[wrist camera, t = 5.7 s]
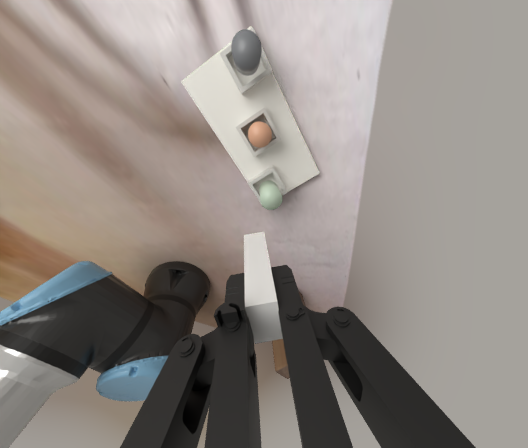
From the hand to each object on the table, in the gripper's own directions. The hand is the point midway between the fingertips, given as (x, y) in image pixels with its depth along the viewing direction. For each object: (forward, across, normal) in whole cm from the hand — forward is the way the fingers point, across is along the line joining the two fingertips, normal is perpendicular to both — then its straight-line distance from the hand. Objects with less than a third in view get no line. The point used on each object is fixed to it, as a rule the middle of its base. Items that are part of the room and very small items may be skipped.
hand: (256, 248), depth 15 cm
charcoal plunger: (+23, +3, +16) cm, 28 cm away
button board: (+27, +3, +7) cm, 28 cm away
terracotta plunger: (+26, +3, +7) cm, 27 cm away
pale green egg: (+23, +3, -3) cm, 24 cm away
